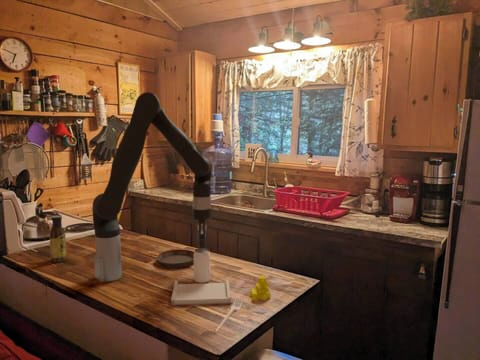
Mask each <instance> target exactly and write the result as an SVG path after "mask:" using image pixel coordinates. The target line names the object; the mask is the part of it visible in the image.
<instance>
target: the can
mask: <svg viewBox="0 0 480 360" xmlns="http://www.w3.org/2000/svg"><path fill="white" fill-rule="evenodd" d="M193 280H194V281H195V282H196V283H197V282H198V283H197V284H207V283H208V282H210V280H211V253H210V249H209V248H206V247H205V248H200V247H199V248H195V249H194V262H193Z"/></svg>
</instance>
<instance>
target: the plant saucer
mask: <svg viewBox="0 0 480 360" xmlns="http://www.w3.org/2000/svg"><path fill="white" fill-rule="evenodd" d="M194 252H195V250H191V249H179V248H177V249H170V250H166V251H162V252H161V253H158V255H156V260H157V261H158V262H159V264H160V265H162V266H164V267H167V268H183V267H188V266H190V265H192V264H194ZM187 265H188V266H187Z"/></svg>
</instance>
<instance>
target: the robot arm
mask: <svg viewBox="0 0 480 360" xmlns="http://www.w3.org/2000/svg"><path fill="white" fill-rule="evenodd" d="M133 107H134V108H133V110H132V114H131V117H130V121H129V123H128V125H127V127H126V130H125V132H124V133H123V135H122V137H121V139H120V142H119V143H118V145H117V148H116V151H115V154H114V156H113V160H112V164H111V168H110V175H109V179H108V183H107V186H106V187H105V188H104V190H103V191H104V192H103V193H99V194H98V195H97V196H95V198H94V199H93V202H92V207H91V209H92V219H93V220H92V222H93V223H92V224H93V230H94V239H95V240H94V241H95V245H94V246H95V254H94V255H93V261H94V278H95V279H96V280H97V281H99V283H104V282H113V281H117V280H120V279H121V278H122V276H123V275H122V272H123V271H122V247H121V227H120V224H119V218H118V216H119V214H120V212H121V210H122V206H123V203H124V200H125V199H124V198H125V197H126V192H127V190H128V188H129V184H130V182H131V181H132V179H133V176H134V175H135V174H134V173H135V171H136V169H137V167H138V165H139V163H140V159H141V158H142V156H143V151H144V148H145V144H146V139H147V133H148V131H149V128H150V126H151V125H152V126H154V127H155V128H156V129H157V130H158V131H159V132H160V133H161V135H162V136H163V137H164V138H165V139H166V140H167V142H168V143H169V144H170V146H171V147H172V148H173V149H174V151H175V152H176V153H177V154H178V155H179V156H180V157H181V158H182V159H183V161H184V162H185V163H186V166H188V168H189V170H190V171H191V172H192V173H193V174H194V182H193V184H192V185H193V186H192V219H193V220H195V221H197V220H198V221H197V222H196V229H197V235H198V240H199V248H206V239H207V238H206V235H207V228H208V222H207V220H211V218H212V199H211V197H212V196H211V177H212V163H211V161H210V160H209V159H208V158H206V157H203V156H202V154H201V153H200V152H199V151H198V150H197V147H196V145H195V144H194V143H193V142H192V141H191V140H190V139H189V138H188V136H187V135H186V134H185V133H184V132H183V131H182V130H181V129H180V128H179V127H178V126H176V124H175V123H174V122H173V121H172V120H171V119H170V118H169V117H168V115H167V114H166V113H165V111H164V110H163V108H162V105H161V102H160V100H159V98H158V96H157V95H156V94H155V93H153V92H150V91H145V92H143V93H141V94H140V95H138V97H137V99H136V100H135V103H134V106H133Z"/></svg>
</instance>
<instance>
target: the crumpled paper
mask: <svg viewBox="0 0 480 360" xmlns="http://www.w3.org/2000/svg"><path fill="white" fill-rule="evenodd" d="M269 286H271V284H270V283H269V282H268V280H267V278H266V277H265V275H263V274H261V275H260V276H258V277H257V282H256V284H255V286H254V288H250V297H251V301H259V300H261V301H266V300H268V299H269V298H271V290H270V287H269Z"/></svg>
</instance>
